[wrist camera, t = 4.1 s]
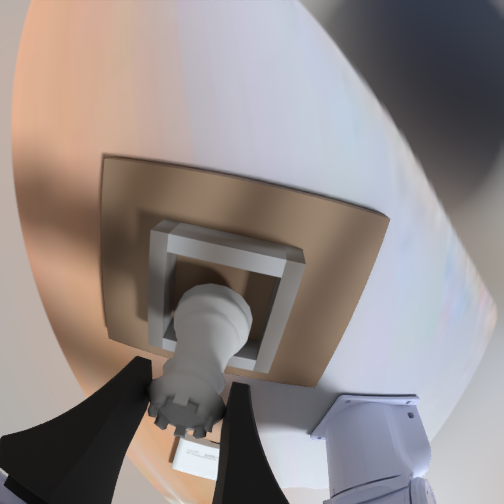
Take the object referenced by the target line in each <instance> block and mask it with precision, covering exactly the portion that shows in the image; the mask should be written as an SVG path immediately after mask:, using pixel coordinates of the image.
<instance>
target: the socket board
mask: <svg viewBox="0 0 504 504" xmlns="http://www.w3.org/2000/svg"><path fill="white" fill-rule="evenodd" d="M389 222H390V218H388V217H387V216H386V215H384V214H382V213H378V212H375V211H372V210H369V209H365V208H362V207H358V206H355V205H352V204H348V203H345V202H341V201H337V200H334V199H330V198H326V197H323V196H319V195H315V194H311V193H307V192H303V191H299V190H295V189H291V188H287V187H283V186H278V185H274V184H270V183H265V182H261V181H256V180H251V179H247V178H242V177H237V176H232V175H227V174H222V173H217V172H211V171H206V170H200V169H195V168H189V167H183V166H176V165H170V164H164V163H157V162H150V161H142V160H135V159H127V158H118V157H110V158H105V159H104V170H103V183H102V201H101V261H102V280H103V293H104V304H105V313H106V322H107V329H108V336H109V339H112V340H114V341H117V342H120V343H123V344H126V345H128V346H131V347H134V348H137V349H140V350H143V351H146V352H150V353H153V354H156V355H159V356H163V357H166V358H169V359H170V358H172V357H173V355H174V352H175V348H176V343H177V338H176V332H175V330H174V314H175V310H176V309H177V307H178V303H179V301H180V299H181V298H182V296H183V294H184V293H185V292H187V291H188V290H190V289H191V288H193V287H195V286H196V285H203V284H210V283H212V284H217V285H221V286H226V287H228V288H230V289H231V290H233V291H235V292H236V293H238V294H240V295H241V296H242V298H243V299H244V300H245V302H246V303H247V304H248V305H249V307H250V311H251V315H252V319H253V320H252V324H251V329H250V332H249V336H248V340H247V342H246V343H245V344H244V346H243V347H242V348H241V349H240V350H239V351H238V352H237V353H235V354H234V355H233V356H232V357H231V358H229V360H228V363H227V365H226V367H225V370H224V373H229V374H233V375H238V376H243V377H248V378H254V379H259V380H265V381H271V382H277V383H283V384H290V385H298V386H305V387H314V388H315V387H316V385H317V383H318V381H319V380H320V378H321V376H322V374H323V372H324V371H325V369H326V367H327V365H328V363H329V361H330V360H331V358H332V356H333V354H334V352H335V350H336V348H337V346H338V344H339V342H340V340H341V338H342V336H343V334H344V332H345V330H346V328H347V326H348V324H349V321H350V319H351V317H352V315H353V313H354V311H355V308H356V306H357V304H358V302H359V299H360V297H361V295H362V292H363V290H364V288H365V285H366V283H367V281H368V278H369V276H370V273H371V271H372V268H373V266H374V263H375V261H376V258H377V255H378V253H379V250H380V247H381V244H382V242H383V239H384V236H385V233H386V230H387V227H388V224H389Z"/></svg>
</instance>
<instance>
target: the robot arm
mask: <svg viewBox="0 0 504 504" xmlns="http://www.w3.org/2000/svg"><path fill="white" fill-rule="evenodd" d="M151 381H152V365H151V360H149V359H146V358H143V357H140V356H136V357H135V358H134V359H133V360H132V361H131V362H130V363H129V364H128V365H126V366H125V367H124V368H123V369H122V370H121V371H120V372H119V373H118V374H117V375H116V376H115V377H113V378H112V379H111V380H110V381H109V382H107V383H106V384H105V385H104V386H103V387H102V388H100V389H99V390H98V391H96V392H95V393H94V394H92V395H91V396H90V397H88V398H87V399H86V400H84V401H83V402H81V403H80V404H78V405H77V406H75V407H74V408H72V409H70V410H69V411H67V412H65V413H63V414H62V415H60V416H58V417H56V418H54V419H52V420H50V421H47V422H45V423H43V424H40V425H38V426H35V427H32V428H30V429H27V430H24V431H20V432H17V433H13V434H8V435H4V436H2V437H1V438H0V468H2V469H3V470H4V471H5V472H6V473H8V474H9V475H8V477H6V476H5V475H4V474H3V473H2V472H0V504H111V502H112V497H113V494H114V490H115V486H116V482H117V479H118V475H119V471H120V469H121V466H122V462H123V459H124V456H125V454H126V451H127V449H128V447H129V445H130V443H131V440H132V438H133V436H134V434H135V432H136V430H137V428H138V426H139V424H140V422H141V420H142V418H143V416H144V414H145V411H146V409H147V406H148V403H149V399H148V395H147V387H148V385H149V384H150V382H151ZM419 401H420V399H419V397H417V396H415V397H374V396H352V395H342V396H339V397H338V398H337V400H336V401H335V403H334V404H333V406H332V407H331V408H330V410H329V411H328V413H327V414H326V415H325V417H324V418H323V419H322V421H321V422H320V423H319V425H318V426H317V427H316V429H315V430H314V431H313V433H312V434H311V435H310V438H311V439H312V440H326V450H327V461H328V474H329V488H330V499H329V500H325V501H323V504H436V500H435V497H434V493H433V491H432V488H431V486H430V484H429V482H428V481H427V480H426V479H423V478H422V477H423V476H424V475H425V473H426V472H427V470H428V468H429V464H430V460H431V448H430V444H429V441H428V438H427V435H426V432H425V429H424V426H423V424H422V421H421V418H420V415H419V413H418V410H417V407H416V404H417V403H418V402H419ZM212 504H289V502H288V500H287V499H286V497H285V495H284V494H283V492H282V490H281V488H280V487H279V485H278V483H277V481H276V479H275V477H274V475H273V473H272V470H271V468H270V466H269V463H268V461H267V458H266V456H265V453H264V450H263V447H262V444H261V441H260V438H259V435H258V431H257V427H256V423H255V419H254V414H253V409H252V402H251V393H250V386H249V385H248V384H242V383H237V382H233V383H232V386H231V390H230V394H229V397H228V401H227V405H226V412H225V416H224V418H223V423H222V428H221V438H220V449H219V461H218V473H217V481H216V487H215V492H214V497H213V502H212Z"/></svg>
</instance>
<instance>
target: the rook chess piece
mask: <svg viewBox="0 0 504 504" xmlns="http://www.w3.org/2000/svg"><path fill="white" fill-rule="evenodd" d="M252 320H253V319H252V315H251V311H250V307H249V305H248V304H247V303H246V302H245V300H244V299H243V298H242V296H241V295H240V294H238V293H236V292H235V291H233V290H231V289H230V288H228V287H226V286H221V285H217V284H212V283H210V284H203V285H196V286H195V287H193V288H191V289H190V290H188V291H187V292H185V293H184V294H183V296H182V298H181V299H180V301H179V303H178V307H177V309H176V310H175V314H174V330H175V332H176V338H177V343H176V348H175V352H174V355H173V357H172V358H170V359H168V360H167V362H166V363H165V365H164V366H163V375H164V376H162V377H159V378H157V379H154V380H152V381H151V382H150V384H149V385H148V387H147V395H148V399H149V402H150V406H149V408H148V414H149V416H151V417H155V418H156V420H155V422H154V424H155V425H157V426H158V427H159V428H161V429H162V430H164V429H166V428H167V425H168V423H169V424H171V425H173V426H175V427H176V429H175V432H174V436H178V437H182V438H186V434H187V431H188V430H194V433H193V436H194V437H195V438H196V439H199V438H204V437H206V433H207V431H208V432H212V427H213V425H215V424H216V423H218V422H219V421H220V420H221V419H223V418H224V416H225V412H226V407H225V404H224V402H223V400H222V398H221V397H220V395H219V394H220V393H221V392H222V391H223V390H224V388H225V383H226V381H225V379H224V376H223V372H224V370H225V367H226V365H227V363H228V360H229V358H231V357H232V356H233V355H234V354H235V353H237V352H238V351H239V350H240V349H241V348H242V347H243V346H244V344H245V343H246V342H247V340H248V336H249V332H250V329H251V324H252ZM156 415H157V417H156Z"/></svg>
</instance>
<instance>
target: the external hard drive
mask: <svg viewBox="0 0 504 504" xmlns="http://www.w3.org/2000/svg"><path fill="white" fill-rule="evenodd" d="M219 449H220V444H219V443H215V442H211V441H210V440H206V439H202V438H199V439H196V438H195V437H194V436H192V435H189V434H186V438H182V437H180V440H179V444H178V447H177V450H176V453H175V457H174V460H173V463H172V468H173V469H175V470H178V471H182V472H185V473H189V474H192V475H196V476H200V477H204V478H208V479H212V480H216V481H217V473H218V461H219Z"/></svg>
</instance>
